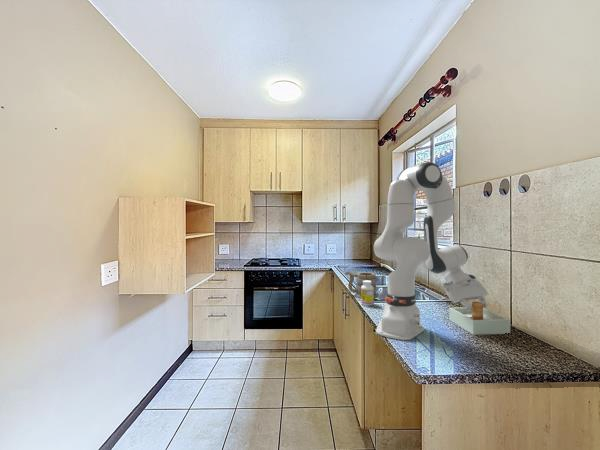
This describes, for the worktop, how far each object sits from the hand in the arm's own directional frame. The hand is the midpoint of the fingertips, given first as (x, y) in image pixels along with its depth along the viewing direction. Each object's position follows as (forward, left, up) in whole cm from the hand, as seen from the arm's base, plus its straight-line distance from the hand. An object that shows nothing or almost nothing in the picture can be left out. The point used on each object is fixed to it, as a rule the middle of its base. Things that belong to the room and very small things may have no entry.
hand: (478, 308), depth 125 cm
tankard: (+24, +63, -8) cm, 68 cm away
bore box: (+1, 0, -8) cm, 8 cm away
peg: (+1, 0, -8) cm, 8 cm away
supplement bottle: (+9, +53, -8) cm, 54 cm away
